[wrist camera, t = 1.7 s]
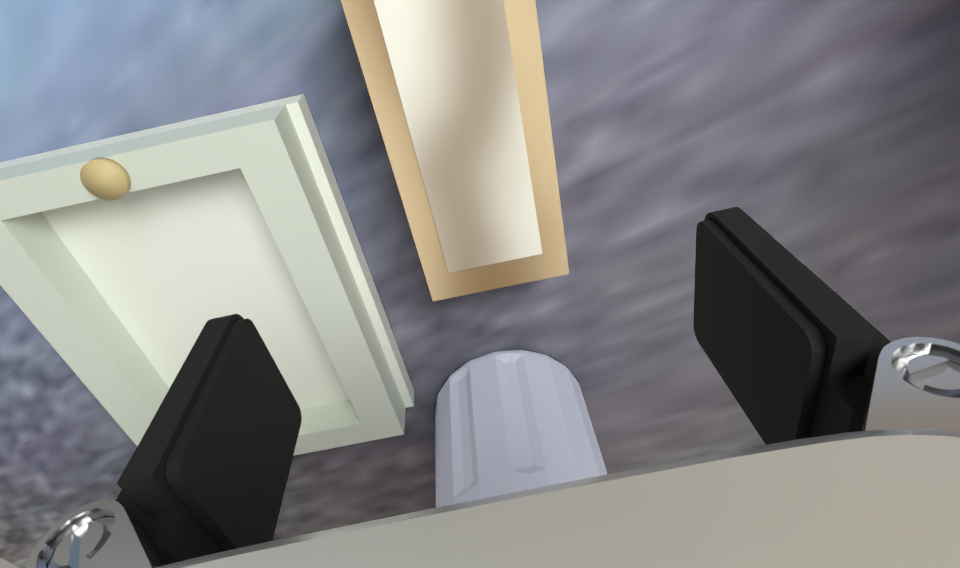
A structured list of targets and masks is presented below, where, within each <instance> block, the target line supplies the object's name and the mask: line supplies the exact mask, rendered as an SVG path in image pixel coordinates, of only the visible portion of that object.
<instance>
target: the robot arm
mask: <svg viewBox="0 0 960 568" xmlns="http://www.w3.org/2000/svg"><path fill="white" fill-rule="evenodd" d="M694 331H695V335H696V338H697V340H698V342H699V344H700V345H701V347H702V348H703V350H704V351H705V353H706V354H707V356H708V357H709V359H710V360H711V362H712V363H713V365H714V366H715V368H716V370H717V371H718V373H719V374H720V376H721V377H722V379H723V380H724V382H725V383H726V385H727V386H728V388H729V389H730V391H731V392H732V394H733V395H734V397H735V398H736V400H737V401H738V403H739V404H740V406H741V408H742V409H743V411H744V412H745V414H746V415H747V417H748V418H749V420H750V421H751V423H752V424H753V426H754V427H755V429H756V430H757V432H758V433H759V435H760V436H761V438H762V439H763V441H764V442H765V444H766V445H762V446H757V447H751V448H745V449H740V450H734V451H728V452H722V453H717V454H711V455H706V456H700V457H695V458H690V459H685V460H679V461H674V462H669V463H664V464H658V465H653V466H648V467H643V468H638V469H632V470H627V471H622V472H617V473H611V474H606V475H601V476H596V477H590V478H585V479H580V480H575V481H570V482H564V483H559V484H554V485H549V486H544V487H539V488H534V489H529V490H524V491H518V492H513V493H508V494H503V495H498V496H493V497H488V498H483V499H478V500H473V501H468V502H463V503H457V504H452V505H447V506H442V507H437V508H432V509H427V510H422V511H417V512H412V513H407V514H402V515H397V516H392V517H387V518H382V519H377V520H372V521H367V522H362V523H357V524H353V525H348V526H343V527H338V528H333V529H328V530H323V531H318V532H313V533H308V534H303V535H298V536H293V537H288V538H283V539H278V540H274V541H272V539H273V535H274V531H275V527H276V523H277V519H278V515H279V511H280V507H281V503H282V499H283V495H284V491H285V487H286V483H287V479H288V475H289V471H290V467H291V463H292V459H293V455H294V451H295V447H296V443H297V438H298V434H299V430H300V426H301V421H302V416H301V411H300V407H299V405H298V403H297V402H296V400H295V398H294V396H293V394H292V392H291V391H290V389H289V387H288V385H287V383H286V381H285V380H284V378H283V376H282V374H281V372H280V371H279V369H278V367H277V365H276V363H275V361H274V360H273V358H272V356H271V354H270V352H269V350H268V349H267V347H266V345H265V343H264V341H263V340H262V338H261V336H260V334H259V332H258V330H257V329H256V327H255V325H254V323H253V322H252V321H251V320H250V319H244V318H243V317H242V316H241V315H239V314H233V315H228V316H223V317H219V318H214V319H210V320H208V321H207V322H206V324H205V326H204V327H203V329H202V331H201V333H200V335H199V336H198V338H197V340H196V342H195V344H194V345H193V347H192V349H191V351H190V353H189V354H188V356H187V358H186V360H185V362H184V363H183V365H182V367H181V369H180V371H179V372H178V374H177V376H176V378H175V380H174V381H173V383H172V385H171V387H170V389H169V391H168V392H167V394H166V396H165V398H164V400H163V401H162V403H161V405H160V407H159V409H158V410H157V412H156V414H155V416H154V418H153V419H152V421H151V423H150V425H149V427H148V428H147V430H146V432H145V434H144V436H143V437H142V439H141V441H140V443H139V445H138V446H137V448H136V450H135V452H134V454H133V455H132V457H131V459H130V461H129V463H128V465H127V466H126V468H125V470H124V472H123V474H122V475H121V477H120V479H119V481H118V483H117V484H118V486H119V487H120V488H121V489H122V490H121V492H120V494H119V496H118V498H117V500H116V501H114V500H109V499H108V500H100V501H95V502H92V503H90V504H87V505H84V506H82V507H80V508H78V509H77V510H75V511H73V512H71V513H70V514H68V515H67V516H65V517H64V518H63V519H61V520H60V521H59V522H58V523H56V524H55V525H54V526H53V527H52V528H51V529H50V530H49V531H48V532H47V533H46V534H45V535H44V536H43V537H42V538H41V539H40V540H39V542H38V543H37V545H36V546H35V547H34V549H33V550H32V552H31V553H30V556H29V558H28V561H27V563H26V565H25V568H960V344H958V343H955V342H951V341H947V340H944V339H939V338H930V337H906V338H902V339H898V340H895V341H892V342H890V341H889V340H888V339H887V338H886V337H885V336H883V335H882V334H881V333H880V332H879V331H878V330H877V329H876V328H874V327H873V326H872V325H871V324H870V323H869V322H868V321H867V320H865V319H864V318H863V317H862V316H861V315H860V314H859V313H858V312H856V311H855V310H854V309H853V308H852V307H851V306H850V305H849V304H847V303H846V302H845V301H844V300H843V299H842V298H841V297H840V296H839V295H837V294H836V293H835V292H834V291H833V290H832V289H831V288H830V287H828V286H827V285H826V284H825V283H824V282H823V281H822V280H821V279H819V278H818V277H817V276H816V275H815V274H814V273H813V272H812V271H810V270H809V269H808V268H807V267H806V266H805V265H803V264H802V263H801V262H800V261H799V260H798V259H796V258H795V257H794V256H793V255H792V254H791V253H790V252H789V251H787V250H786V249H785V248H784V247H783V246H782V245H781V244H780V243H778V242H777V241H776V240H775V239H774V238H773V237H772V236H771V235H770V234H768V233H767V232H766V231H765V230H764V229H763V228H762V227H761V226H759V225H758V224H757V223H756V222H755V221H754V220H753V219H752V218H750V217H749V216H748V215H747V214H746V213H745V212H744V211H743V210H742V209H740V208H738V207H734V208H729V209H725V210H720V211H715V212H711V213H708V214H707V215H706V217H705V221H702V222H699V223H698V225H697V233H696V265H695V297H694Z"/></svg>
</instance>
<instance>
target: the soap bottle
mask: <svg viewBox="0 0 960 568" xmlns="http://www.w3.org/2000/svg"><path fill="white" fill-rule="evenodd" d="M435 458H436V508H437V507H442V506H447V505H452V504H457V503H463V502H468V501H473V500H478V499H483V498H488V497H493V496H498V495H503V494H508V493H513V492H518V491H524V490H529V489H534V488H539V487H544V486H549V485H554V484H559V483H564V482H570V481H575V480H580V479H585V478H590V477H596V476H601V475H606V474H607V471H606V468H605V465H604V461H603V458H602V455H601V452H600V449H599V445H598V442H597V439H596V436H595V433H594V430H593V426H592V423H591V420H590V417H589V414H588V411H587V407H586V404H585V401H584V398H583V395H582V392H581V388H580V385H579V383H578V382H577V380H576V379H575V378H574V376H573V375H572V374H571V372H570V371H569V370H568V368H567V367H566V366H564V365H563V364H561V363H559V362H557V361H556V360H554V359H552V358H551V357H549V356H547V355H545V354H540V353H535V352H530V351H525V350H510V351H497V352H492V353H489V354H487V355H484V356H481V357H478V358H475V359H473V360H470V361H469V362H467V363H466V364H464V365H463V366H462V367H460V368H459V369H458V370H456V371H455V372H454V373H452V374H451V375H450V377H449V378H448V380H447V381H446V383H445V384H444V386H443V387H442V389H441V390H440V392H439V394H438V397H437V404H436V412H435Z"/></svg>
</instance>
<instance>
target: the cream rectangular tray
mask: <svg viewBox="0 0 960 568" xmlns="http://www.w3.org/2000/svg"><path fill="white" fill-rule="evenodd" d="M0 285H1V286H2V287H3V289H4V290H5V291H6V292H7V293H8V294H9V296H10V297H11V298H12V299H13V300H14V302H15V303H16V304H17V305H18V306H19V307H20V309H21V310H22V311H23V312H24V313H25V315H26V316H27V317H28V318H29V319H30V320H31V322H32V323H33V324H34V325H35V326H36V327H37V329H38V330H39V331H40V332H41V333H42V335H43V336H44V337H45V338H46V339H47V340H48V342H49V343H50V344H51V345H52V346H53V348H54V349H55V350H56V351H57V352H58V353H59V355H60V356H61V357H62V358H63V359H64V361H65V362H66V363H67V364H68V365H69V366H70V368H71V369H72V370H73V371H74V372H75V374H76V375H77V376H78V377H79V378H80V379H81V381H82V382H83V383H84V384H85V385H86V386H87V388H88V389H89V390H90V391H91V392H92V394H93V395H94V396H95V397H96V398H97V399H98V401H99V402H100V403H101V404H102V405H103V407H104V408H105V409H106V410H107V411H108V412H109V414H110V415H111V416H112V417H113V418H114V420H115V421H116V422H117V423H118V424H119V425H120V427H121V428H122V429H123V430H124V431H125V433H126V434H127V435H128V436H129V437H130V438H131V440H132V441H133V442H134V443H135V444H136V445H137V446H138V445H139V443H140V441H141V439H142V437H143V436H144V434H145V432H146V430H147V428H148V427H149V425H150V423H151V421H152V419H153V418H154V416H155V414H156V412H157V410H158V409H159V407H160V405H161V403H162V401H163V400H164V398H165V396H166V394H167V392H168V391H169V389H170V387H171V385H172V383H173V381H174V380H175V378H176V376H177V374H178V372H179V371H180V369H181V367H182V365H183V363H184V362H185V360H186V358H187V356H188V354H189V353H190V351H191V349H192V347H193V345H194V344H195V342H196V340H197V338H198V336H199V335H200V333H201V331H202V329H203V327H204V326H205V324H206V322H207V321H208V320H210V319H214V318H219V317H223V316H228V315H233V314H239V315H241V316H242V317H243V318H244V319H250V320H251V321H252V322H253V323H254V325H255V327H256V329H257V330H258V332H259V334H260V336H261V338H262V340H263V341H264V343H265V345H266V347H267V349H268V350H269V352H270V354H271V356H272V358H273V360H274V361H275V363H276V365H277V367H278V369H279V371H280V372H281V374H282V376H283V378H284V380H285V381H286V383H287V385H288V387H289V389H290V391H291V392H292V394H293V396H294V398H295V400H296V402H297V403H298V405H299V407H300V411H301V416H302V421H301V426H300V430H299V434H298V438H297V443H296V447H295V451H294V455H299V454H305V453H310V452H315V451H320V450H326V449H331V448H336V447H341V446H346V445H352V444H357V443H362V442H367V441H373V440H378V439H383V438H388V437H393V436H399V435H404V428H405V410H406V408H407V407H412V406H414V389H413V386H412V384H411V381H410V378H409V375H408V373H407V370H406V367H405V365H404V362H403V359H402V357H401V354H400V351H399V349H398V346H397V343H396V341H395V338H394V335H393V333H392V330H391V327H390V324H389V322H388V319H387V316H386V314H385V311H384V308H383V306H382V303H381V300H380V298H379V295H378V292H377V290H376V287H375V284H374V281H373V279H372V276H371V273H370V271H369V268H368V265H367V263H366V260H365V257H364V255H363V252H362V249H361V247H360V244H359V241H358V239H357V236H356V233H355V230H354V228H353V225H352V222H351V220H350V217H349V214H348V212H347V209H346V206H345V204H344V201H343V198H342V196H341V193H340V190H339V188H338V185H337V182H336V179H335V177H334V174H333V171H332V169H331V166H330V163H329V161H328V158H327V155H326V153H325V150H324V147H323V145H322V142H321V139H320V136H319V134H318V131H317V128H316V126H315V123H314V120H313V118H312V115H311V112H310V110H309V107H308V104H307V102H306V99H305V96H304V94H302V95H297V96H293V97H288V98H284V99H279V100H275V101H271V102H266V103H262V104H257V105H253V106H248V107H244V108H239V109H235V110H231V111H226V112H222V113H217V114H213V115H208V116H204V117H199V118H195V119H191V120H186V121H182V122H177V123H173V124H168V125H164V126H160V127H155V128H151V129H146V130H142V131H137V132H133V133H128V134H124V135H120V136H115V137H111V138H106V139H102V140H97V141H93V142H88V143H84V144H80V145H75V146H71V147H66V148H62V149H57V150H53V151H49V152H44V153H40V154H35V155H31V156H26V157H22V158H17V159H13V160H9V161H4V162H0ZM294 455H293V456H294Z"/></svg>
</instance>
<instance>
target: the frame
mask: <svg viewBox="0 0 960 568" xmlns="http://www.w3.org/2000/svg"><path fill="white" fill-rule="evenodd" d="M341 3H342V6H343V9H344V13H345V16H346V19H347V22H348V26H349V29H350V32H351V35H352V39H353V42H354V45H355V49H356V52H357V55H358V58H359V62H360V65H361V68H362V71H363V75H364V78H365V81H366V85H367V88H368V91H369V94H370V98H371V101H372V104H373V107H374V111H375V114H376V117H377V120H378V124H379V127H380V130H381V134H382V137H383V140H384V143H385V147H386V150H387V153H388V156H389V160H390V163H391V166H392V170H393V173H394V176H395V179H396V183H397V186H398V189H399V192H400V196H401V199H402V202H403V205H404V209H405V212H406V215H407V219H408V222H409V225H410V228H411V232H412V235H413V238H414V241H415V245H416V248H417V251H418V255H419V258H420V261H421V264H422V268H423V271H424V274H425V277H426V281H427V284H428V287H429V290H430V294H431V297H432V300H433V301H438V300H443V299H448V298H453V297H458V296H462V295H467V294H472V293H477V292H482V291H487V290H492V289H497V288H502V287H507V286H512V285H517V284H522V283H527V282H532V281H537V280H542V279H547V278H552V277H556V276H561V275H566V274H569V268H568V260H567V252H566V244H565V236H564V228H563V220H562V212H561V204H560V196H559V188H558V180H557V172H556V164H555V156H554V148H553V140H552V132H551V124H550V116H549V108H548V100H547V92H546V84H545V76H544V67H543V59H542V51H541V43H540V35H539V27H538V19H537V11H536V3H535V0H341Z"/></svg>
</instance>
